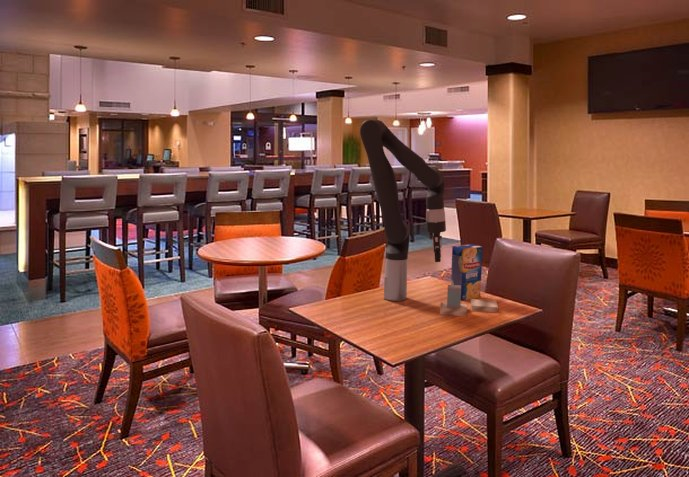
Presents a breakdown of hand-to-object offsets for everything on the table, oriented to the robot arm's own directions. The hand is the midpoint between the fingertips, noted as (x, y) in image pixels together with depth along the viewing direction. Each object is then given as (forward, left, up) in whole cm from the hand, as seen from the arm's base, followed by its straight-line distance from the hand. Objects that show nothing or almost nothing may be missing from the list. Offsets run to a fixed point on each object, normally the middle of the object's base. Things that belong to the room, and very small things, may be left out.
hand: (438, 259), depth 221 cm
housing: (+7, -10, -16) cm, 20 cm away
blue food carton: (+12, +13, -19) cm, 26 cm away
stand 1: (+7, -10, -18) cm, 22 cm away
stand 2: (+19, -2, -18) cm, 26 cm away
